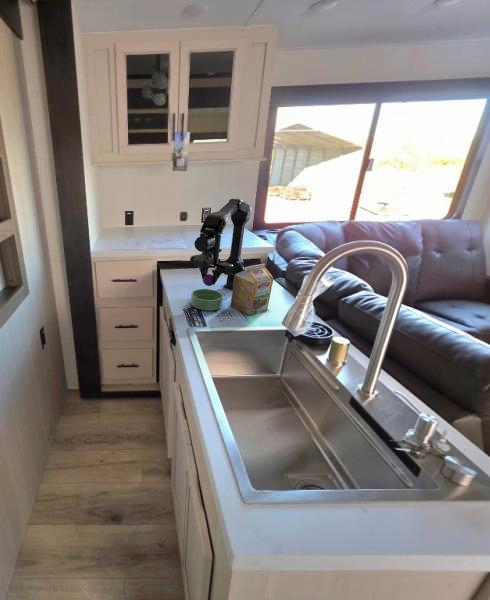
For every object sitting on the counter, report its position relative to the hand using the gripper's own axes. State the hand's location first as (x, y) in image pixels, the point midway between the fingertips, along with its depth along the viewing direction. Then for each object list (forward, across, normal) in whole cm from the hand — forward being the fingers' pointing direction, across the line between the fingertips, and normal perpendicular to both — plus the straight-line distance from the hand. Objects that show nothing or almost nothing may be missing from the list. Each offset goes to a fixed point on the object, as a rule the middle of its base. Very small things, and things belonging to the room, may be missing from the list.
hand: (208, 282), depth 133 cm
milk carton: (+10, +13, +12) cm, 21 cm away
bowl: (+10, 0, 0) cm, 10 cm away
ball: (-1, 0, 0) cm, 1 cm away
